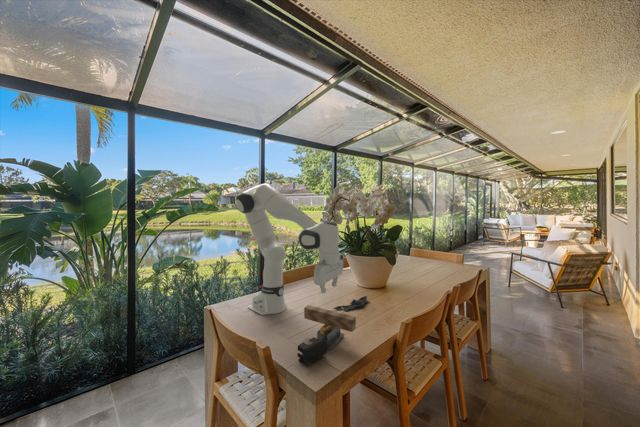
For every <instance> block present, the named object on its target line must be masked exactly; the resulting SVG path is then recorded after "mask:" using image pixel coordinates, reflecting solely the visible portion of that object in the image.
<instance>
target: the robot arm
mask: <svg viewBox="0 0 640 427" xmlns="http://www.w3.org/2000/svg"><path fill="white" fill-rule="evenodd" d="M234 204H235V207H236V209H237V210H238V212H240V213H242V214H244V216H245V218H246V220H247V224H248V226H249V227H250V230H251V232H252V234H253V237H254V238H255V240H256V244H257V247H258V248H259V251H260V253H261V255H262V256H263V258H264V265H263V271H262V281H263V283H262V284H261V285H260V286H259V289H260V291H258V292H257V293H256V294H255V295H254V296H252V300H251V301H252V302H251V303H250V304H248V306H247V308H248V309H249V310H251V311H253V312H256V313H257V314H259V315H261V316H266V315H274V314H280V313H282V312H284V311H285V310H287V306H286V302H285V297H284V289H285V288H284V287H285V286H284V264H285V258H286V256H287V253H286V249H285V247H284V246H283V244H281V243H279V242H278V240H277V237H276V235H275V234H276V233H275V231H274V230H275V229H274V228H273V225H272V222H271V221H270V219H269V216H268V215H267V213H268V214H269V215H270V216H272V217H273V218H274V219H277V220H285V221H290V222H293V223H295V224H297V225H298V226H299V227H301V228H302V230H301V231H300V233H299V234H298V243H299V245H300V247H301V248H303V249H304V250H307V251H311V250H318V262H317V263H316V266H315V267H314V270H313V284H315V285H317V286H319V287H320V293H321V294H326V293H327V288H326V283H328V282H330V281H332V282H331V287H332V288H333V287H334V288H335V287H337V286H338V285H337V284H338V279H339V276H341V275H343V272H344V258H345V256H344V254H343V253H340V249H339V244H340V231H339V230H340V229H339V226H338V224H337V223H336V222H334V221H332V220H331V221H330V220H321V221H320V222H319V223H318V222H316V221H315V220H314V219H312V218H311V217H310V216H308V215H307V214H306V213H305V212H303V211H302V210H301V209H300V208H298V207H297V206H296V205H295V204H294V203H292V202H291V201H290V200H289V199H288V198H287V197H286V196H285V195H284V194H282V193H281V192H280V191H279V190H278V189H277V188H275V187H274V186H273V185H272V184H270V183H268V182H265V183H261V184H258V185H256V186H253V187H250V188H249V189H247V190H246V191H242V192H241V193H239V194H237V195H236V196H235V198H234Z"/></svg>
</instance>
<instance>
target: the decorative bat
mask: <svg viewBox="0 0 640 427" xmlns="http://www.w3.org/2000/svg"><path fill="white" fill-rule="evenodd" d="M367 297H368V296H367V295H366V296H362V297H359V299H354V298H353V300H352V301H350V302H349V304H348V305H339V306H335V307H333V308H332V309H334V310H337V311H343V312H344V311H345V312H349V310H354V309H355V308H357V309H358V308H362V307H363V306H364V305H365V304H368V303H369V300H368V299H367Z"/></svg>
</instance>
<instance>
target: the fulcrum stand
mask: <svg viewBox="0 0 640 427" xmlns="http://www.w3.org/2000/svg"><path fill="white" fill-rule="evenodd" d="M344 336H345V333H343V332H341V329H340V328H336V327H333V326H329V325H326V324H323V325H322V326H321V327H320V328H319V330H318V331H317V332H316V339H318V340H321V339H323V340H324V341H325V342H326V344H327V351H332V349H334V347H335V346H337V345H338V343H339V342H340V341H342V339H344V338H345V337H344Z"/></svg>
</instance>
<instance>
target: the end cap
mask: <svg viewBox="0 0 640 427" xmlns="http://www.w3.org/2000/svg"><path fill="white" fill-rule="evenodd" d="M308 341H309V342H310V343H311V344H308V343H305V342H302V343H300V344H298V345H297V351H298V352H297V357H298V358H297V360H298V362H299V363H301V364H302V365H304V366H308V365H310V364H311V363H313V362H315V361H316V360H318V359H319V358H322V357H323V356H324V355H326V354H327V353H328V350H327V344H326V342H325V341H324V340H323V339H321V340H318V339H317V337H311V338H310V339H308Z"/></svg>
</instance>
